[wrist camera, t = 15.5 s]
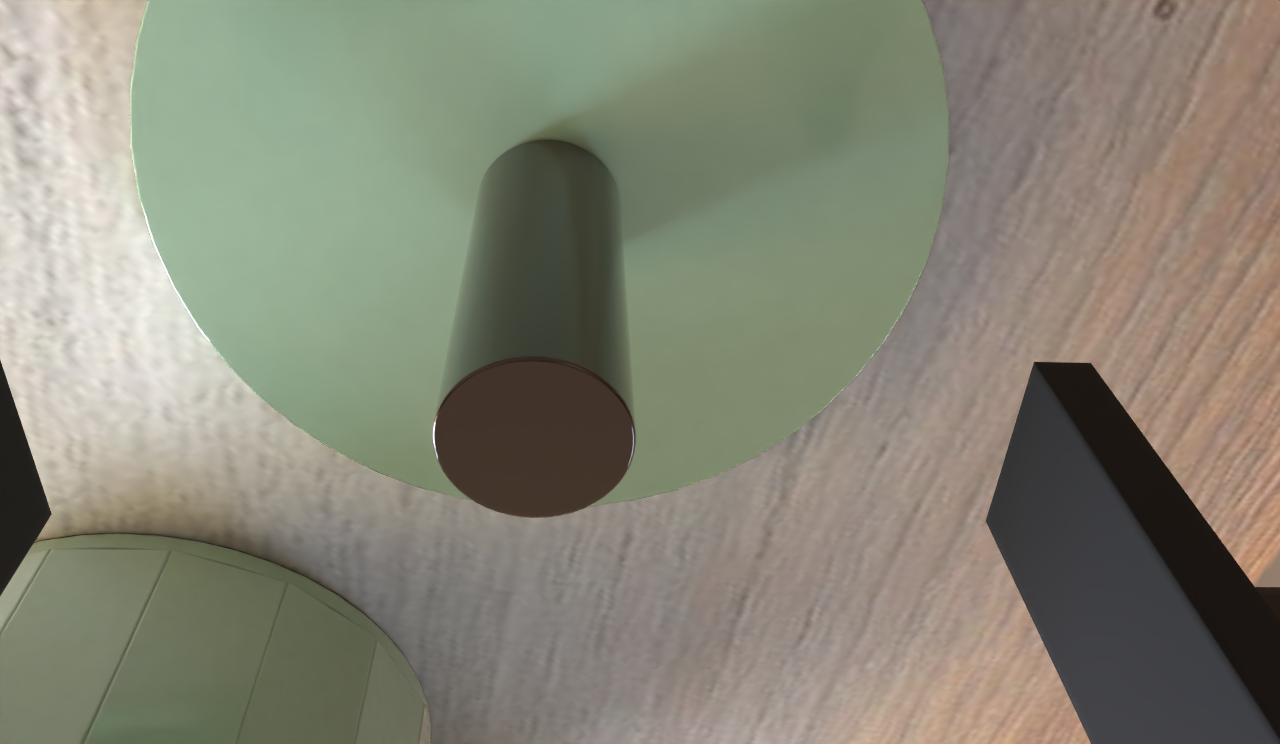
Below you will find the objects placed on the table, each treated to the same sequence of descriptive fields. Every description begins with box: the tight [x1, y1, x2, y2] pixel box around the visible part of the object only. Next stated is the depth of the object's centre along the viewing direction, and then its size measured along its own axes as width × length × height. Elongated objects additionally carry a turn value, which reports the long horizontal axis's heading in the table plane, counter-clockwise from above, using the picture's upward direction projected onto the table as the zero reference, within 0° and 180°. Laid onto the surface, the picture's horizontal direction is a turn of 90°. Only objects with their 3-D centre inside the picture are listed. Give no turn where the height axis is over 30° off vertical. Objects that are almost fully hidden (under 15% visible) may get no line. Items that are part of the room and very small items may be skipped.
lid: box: [129, 0, 950, 518], centre depth 17 cm, size 15×15×8 cm
